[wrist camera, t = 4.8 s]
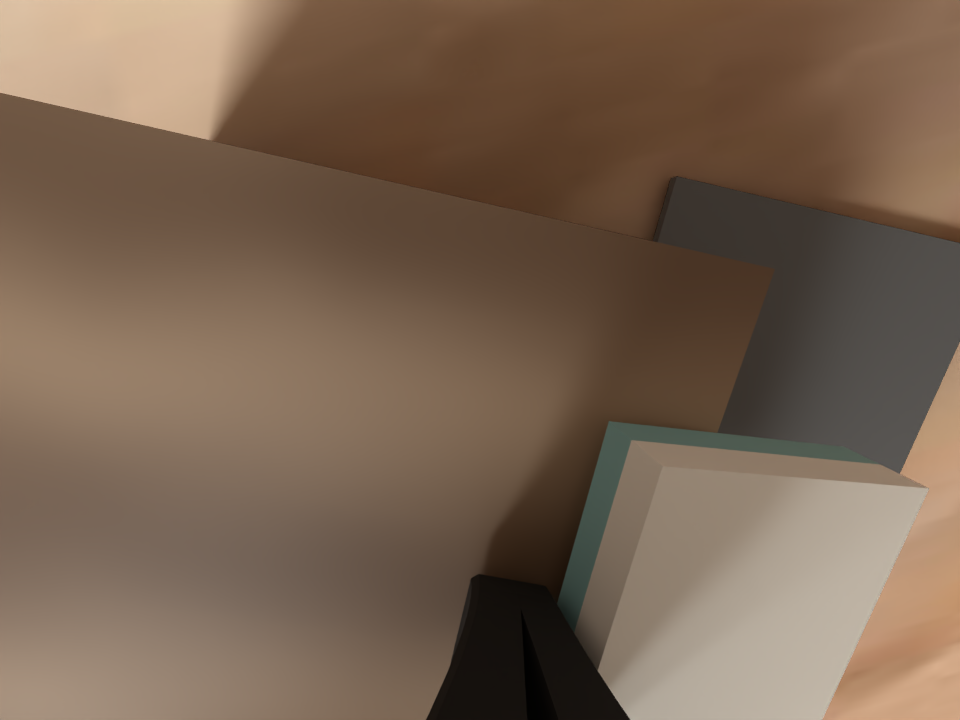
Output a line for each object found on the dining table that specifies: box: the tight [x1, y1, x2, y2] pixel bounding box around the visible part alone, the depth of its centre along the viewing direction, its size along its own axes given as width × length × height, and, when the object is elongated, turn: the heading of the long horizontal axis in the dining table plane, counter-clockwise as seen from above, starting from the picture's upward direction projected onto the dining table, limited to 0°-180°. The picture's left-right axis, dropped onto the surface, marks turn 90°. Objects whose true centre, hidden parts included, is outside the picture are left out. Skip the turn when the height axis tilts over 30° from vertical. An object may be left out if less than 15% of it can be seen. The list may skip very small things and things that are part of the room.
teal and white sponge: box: [557, 421, 929, 720], centre depth 9 cm, size 8×5×2 cm, turn 168°
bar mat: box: [653, 176, 960, 474], centre depth 16 cm, size 18×9×1 cm, turn 168°
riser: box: [0, 93, 775, 720], centre depth 12 cm, size 14×12×6 cm
